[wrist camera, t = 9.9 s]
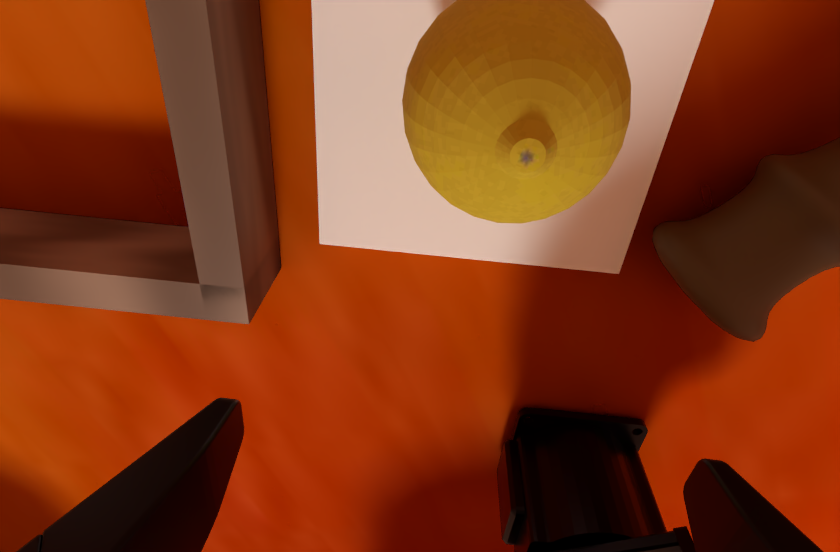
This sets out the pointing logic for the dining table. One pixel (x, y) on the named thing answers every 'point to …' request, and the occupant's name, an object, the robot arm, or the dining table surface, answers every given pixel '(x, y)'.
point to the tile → (407, 186)
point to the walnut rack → (200, 182)
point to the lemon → (516, 106)
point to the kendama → (759, 240)
